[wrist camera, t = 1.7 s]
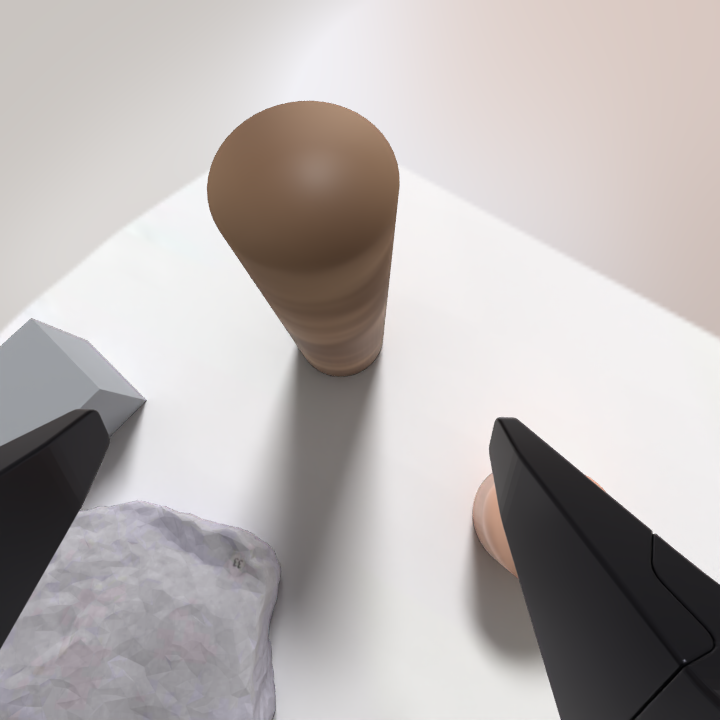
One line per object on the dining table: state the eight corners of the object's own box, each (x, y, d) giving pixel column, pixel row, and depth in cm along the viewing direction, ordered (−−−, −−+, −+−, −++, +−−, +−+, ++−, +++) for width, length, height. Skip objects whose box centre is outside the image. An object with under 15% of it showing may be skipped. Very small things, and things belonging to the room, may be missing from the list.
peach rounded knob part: (534, 595, 19) (576, 630, 16) (451, 520, 20) (471, 536, 16) (595, 511, 20) (649, 525, 16) (513, 443, 21) (545, 440, 17)
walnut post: (344, 394, 22) (307, 310, 9) (282, 339, 22) (167, 191, 10) (400, 331, 22) (439, 171, 10) (338, 280, 23) (298, 70, 10)
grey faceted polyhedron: (76, 472, 21) (10, 475, 17) (18, 408, 22) (-57, 398, 18) (147, 400, 22) (99, 388, 18) (89, 341, 23) (31, 317, 19)
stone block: (85, 502, 23) (13, 733, 19) (22, 492, 18) (-91, 792, 14) (299, 515, 23) (274, 749, 19) (287, 508, 18) (250, 813, 14)
